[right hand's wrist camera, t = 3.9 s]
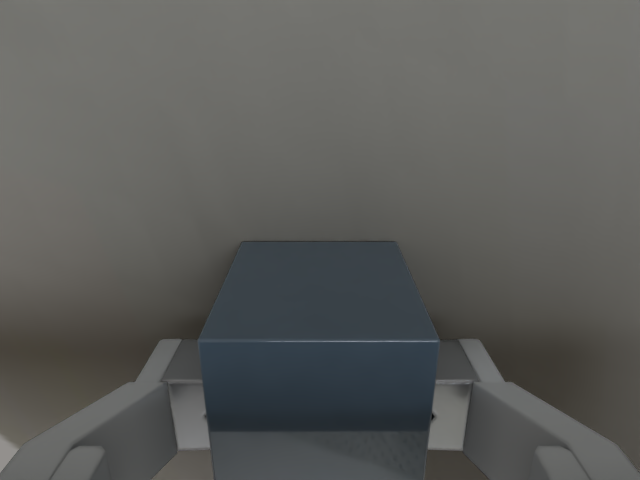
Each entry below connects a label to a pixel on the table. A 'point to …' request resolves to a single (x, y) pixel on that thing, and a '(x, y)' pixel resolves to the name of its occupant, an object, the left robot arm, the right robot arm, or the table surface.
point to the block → (318, 365)
